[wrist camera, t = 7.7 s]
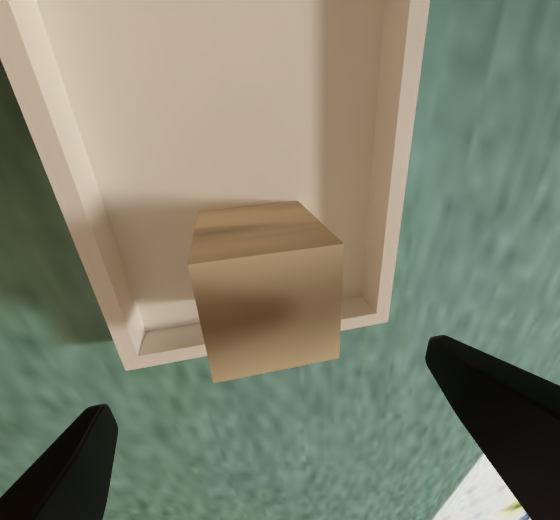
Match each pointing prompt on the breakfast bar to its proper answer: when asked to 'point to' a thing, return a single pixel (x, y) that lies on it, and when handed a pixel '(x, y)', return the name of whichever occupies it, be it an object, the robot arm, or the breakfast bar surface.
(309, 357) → the maple block
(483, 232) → the breakfast bar surface
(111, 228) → the tray
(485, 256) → the breakfast bar surface
